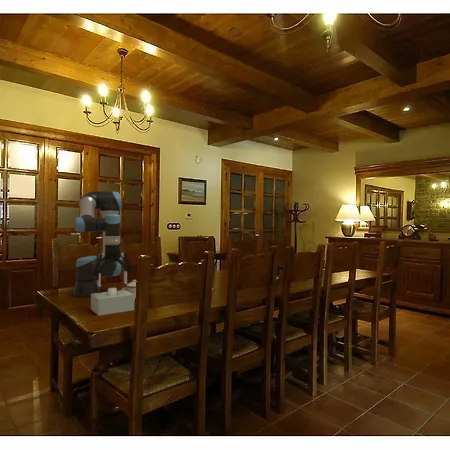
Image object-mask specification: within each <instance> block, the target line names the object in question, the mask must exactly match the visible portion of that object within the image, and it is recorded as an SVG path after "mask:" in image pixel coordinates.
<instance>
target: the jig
mask: <svg viewBox="0 0 450 450" xmlns="http://www.w3.org/2000/svg"><path fill="white" fill-rule="evenodd" d="M90 310H91V311H92V312H93V313H95V314H96V315H97V316H98V317H99V316H104V315H105V316H106V315H110V314H111V315H112V314H116V313H117V314H118V313H124V312H130V311H131V312H132V311H135V302H134V294H132V293H130V292H128V291H127V289H123V290H122V289H121V290H117V295H114V296H108V291H103V292H100V293H94V294H91V296H90Z"/></svg>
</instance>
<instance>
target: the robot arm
mask: <svg viewBox="0 0 450 450" xmlns="http://www.w3.org/2000/svg"><path fill="white" fill-rule="evenodd" d="M121 198H122V197H121V195H120V192H118V191H113V190H111V191H107V190H106V191H105V190H104V191H102V190H91V191H89V192H87V193H85V194H84V195H82V196H81V197H80V199H79V202H78V205H79V206H78V207H79V208H80V212H79V216H78V217H75V219H74V230H75V232H80V233H81V232H82V233H86V232H89V233H92V232H95V233H96V232H99V233H100V232H101V233H102V253H99V254H98V257H97V255H88V256H83V257H80V258H77V260H76V264H75V269H76V270H75V275H76V276H75V278H76V279H75V285H74V288H73V291H72V293H73V294H72V296H73V297H77V298H88V297H90V298H91V294H94V293H101V292H100V291H101V289H100V288H101V287H102V286H101V285H102V284H101V283H102V282H101V281H102V280H101V279H102V277H103V278H104V277H117V276H119V275H120V274H121V271H122V268H123V269H124V271H123V284H126V285H127V284H128V278H129V273H130V271H131V270H133V267H132V265H131V263H130V261H129V259H128V256H127V253H126V252H125V251H123V252H121V244H120V243H121V215H120V214H119V213H120V211H122V205H123V204H122V199H121ZM95 210H100V211H99V212H100V213H101V214H102V217H95ZM123 260H124V262H125V263H124V262H123ZM125 264H126V265H125Z"/></svg>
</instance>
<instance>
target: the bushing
mask: <svg viewBox="0 0 450 450" xmlns="http://www.w3.org/2000/svg"><path fill="white" fill-rule="evenodd" d="M117 289H118V288H117V287H108V288H107V292H108V296H114V295H117V291H118V290H117Z"/></svg>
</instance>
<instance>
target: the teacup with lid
mask: <svg viewBox="0 0 450 450" xmlns="http://www.w3.org/2000/svg"><path fill="white" fill-rule="evenodd" d="M136 282H137V279H133V280H132V281H131V282H129V283H127V284H126V285H125V287H123V288H121V290H126V291H128V292H130V293H132V294H134V303H136V302H135V298H136Z"/></svg>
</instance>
